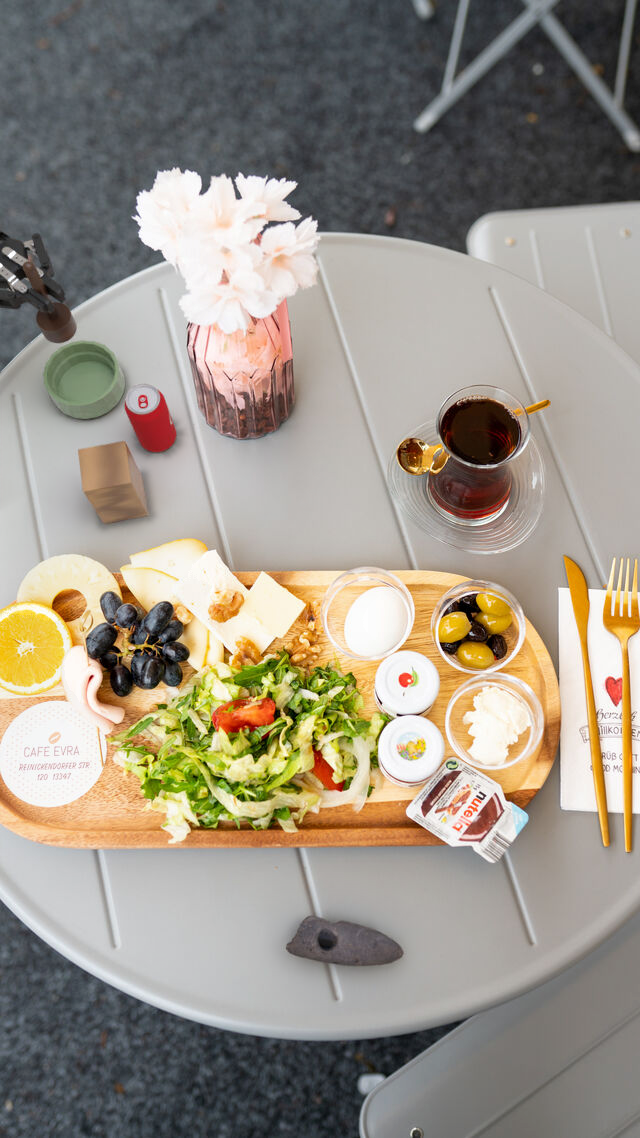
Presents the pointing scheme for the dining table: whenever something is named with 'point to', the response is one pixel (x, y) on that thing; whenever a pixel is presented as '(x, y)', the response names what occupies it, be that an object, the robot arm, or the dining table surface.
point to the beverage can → (150, 418)
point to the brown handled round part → (59, 321)
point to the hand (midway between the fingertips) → (56, 302)
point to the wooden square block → (112, 482)
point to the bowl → (84, 379)
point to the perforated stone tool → (343, 943)
